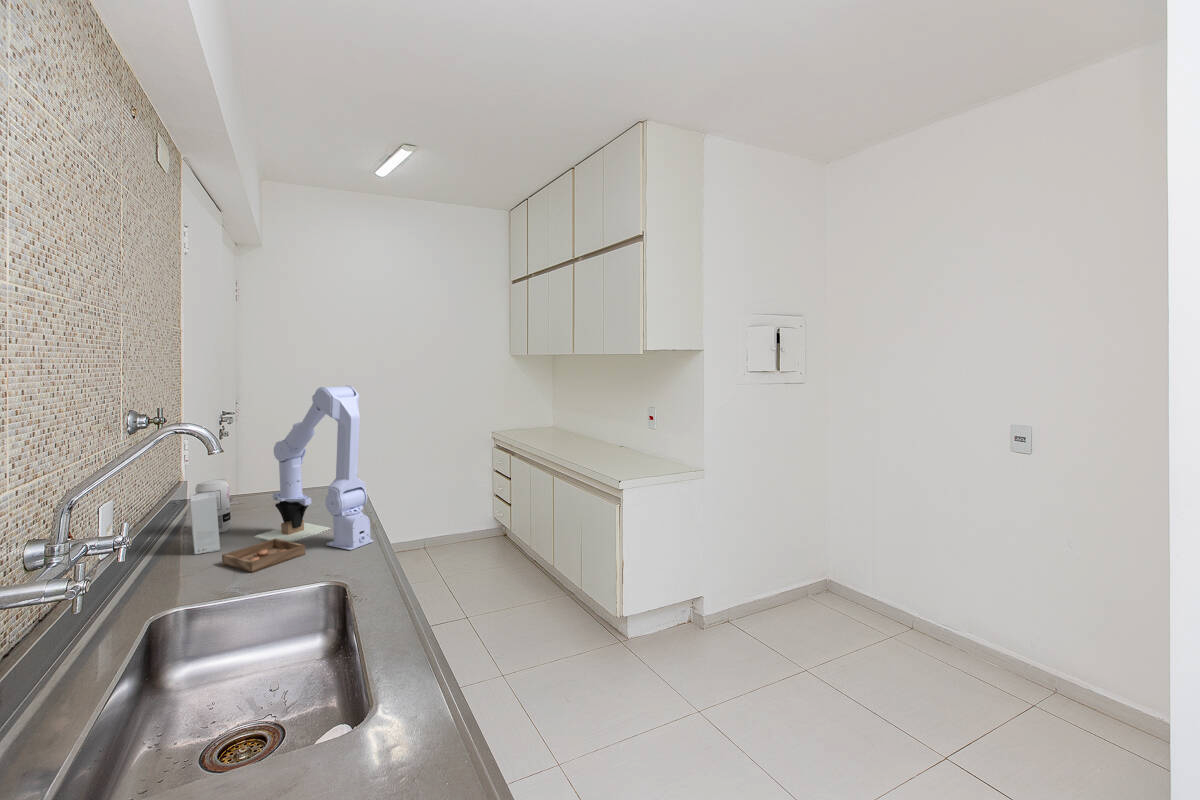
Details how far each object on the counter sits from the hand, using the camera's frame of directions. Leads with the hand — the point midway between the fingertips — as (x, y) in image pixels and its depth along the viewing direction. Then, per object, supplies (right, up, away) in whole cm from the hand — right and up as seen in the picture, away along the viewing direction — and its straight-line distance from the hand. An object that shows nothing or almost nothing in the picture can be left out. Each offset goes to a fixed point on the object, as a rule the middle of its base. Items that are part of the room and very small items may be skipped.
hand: (293, 526), depth 164 cm
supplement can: (-25, -2, +2) cm, 25 cm away
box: (+4, -4, -21) cm, 22 cm away
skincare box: (-16, -3, -13) cm, 21 cm away
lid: (0, -2, 0) cm, 2 cm away
